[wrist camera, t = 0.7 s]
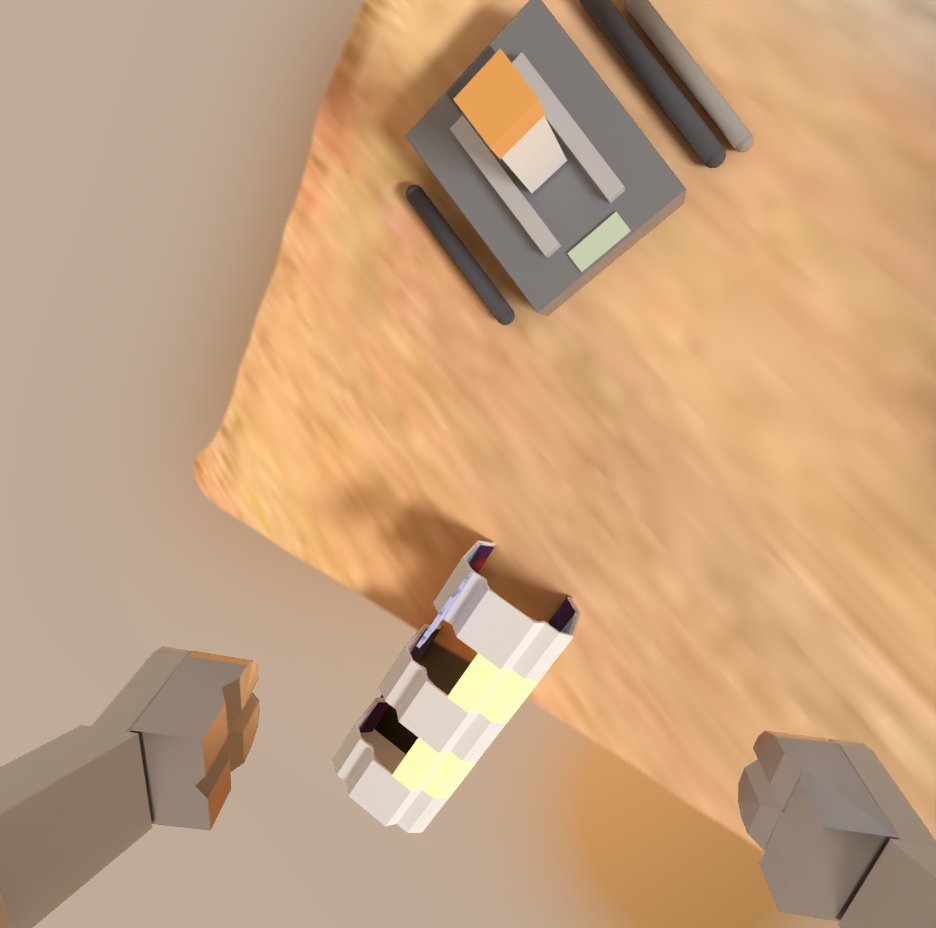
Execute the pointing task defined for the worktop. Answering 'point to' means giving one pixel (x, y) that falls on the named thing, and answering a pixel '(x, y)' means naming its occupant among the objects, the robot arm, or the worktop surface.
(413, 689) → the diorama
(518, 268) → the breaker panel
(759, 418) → the worktop surface
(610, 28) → the cords
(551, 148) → the lever
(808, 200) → the worktop surface
